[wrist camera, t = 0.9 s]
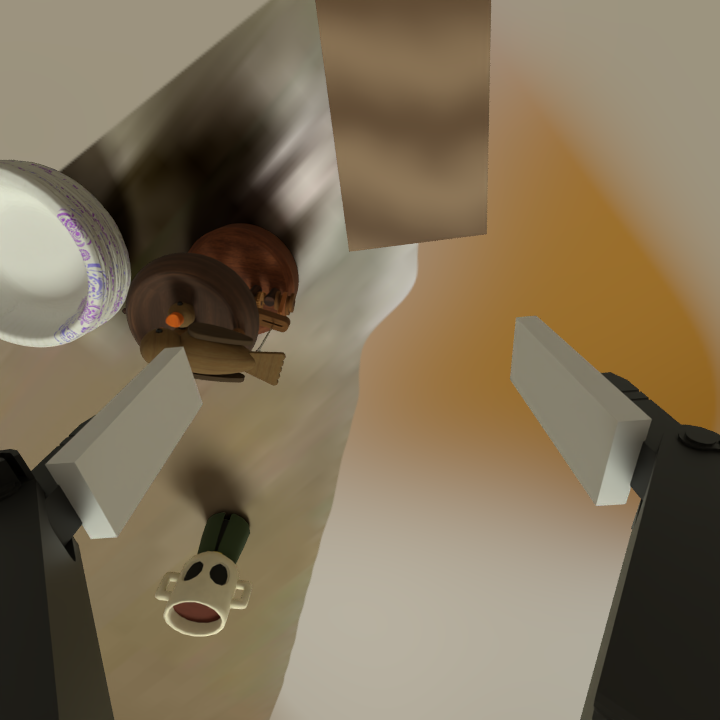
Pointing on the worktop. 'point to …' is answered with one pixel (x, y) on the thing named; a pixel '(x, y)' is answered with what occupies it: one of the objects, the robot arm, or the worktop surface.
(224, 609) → the character mug
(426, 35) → the brown wooden block
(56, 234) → the paper bowls
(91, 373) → the worktop surface
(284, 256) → the music box
